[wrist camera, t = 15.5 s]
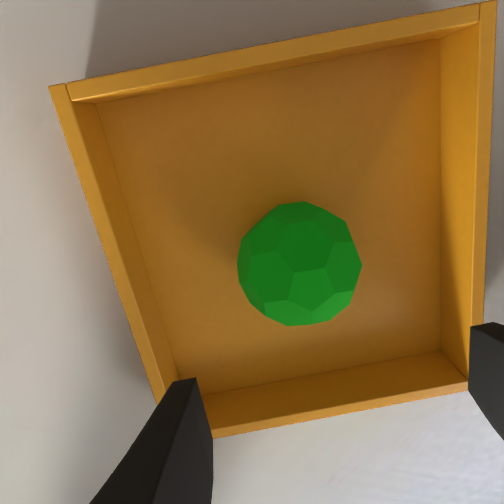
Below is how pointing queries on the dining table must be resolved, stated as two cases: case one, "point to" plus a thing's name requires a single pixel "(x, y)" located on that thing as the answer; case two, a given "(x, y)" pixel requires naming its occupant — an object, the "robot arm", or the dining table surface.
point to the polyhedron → (299, 264)
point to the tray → (297, 190)
